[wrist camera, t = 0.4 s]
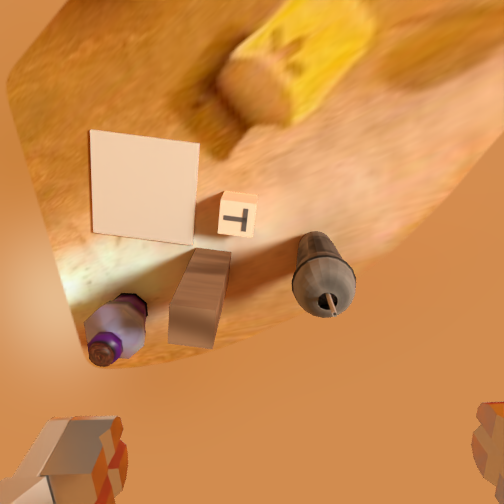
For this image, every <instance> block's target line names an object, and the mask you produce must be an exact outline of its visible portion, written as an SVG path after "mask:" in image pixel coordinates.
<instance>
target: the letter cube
mask: <svg viewBox="0 0 504 504" xmlns="http://www.w3.org/2000/svg"><path fill="white" fill-rule="evenodd" d="M257 200H258V195H255V194H247V193H239V192H231V191H224V193H223V196H222V198H221V202H220V213H219V224H218V234H226V235H234V236H241V237H249V238H253V231H254V224H255V216H256V208H257Z"/></svg>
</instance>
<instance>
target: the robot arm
mask: <svg viewBox="0 0 504 504" xmlns="http://www.w3.org/2000/svg"><path fill="white" fill-rule="evenodd" d="M476 417H477V419H478V420H479V422H480V423H481V425H480V426H479V427H478V428H477V429H476V430H475V431H474V432H473V437H472V444H471V445H472V451H473V457H474V460H475V462H476V465H477V467H478V469H479V471H480V473H481V474H482V476H483V478H485V479H486V480H488V481H489V482H490V483H492V484H493V485H495V486H496V492H495V497H496V499H497V500H498V502H499V504H504V402H485V403H481V404H480V406H479V407H478V410H477V415H476ZM122 432H123V425H122V422H121V418H120V417H118V416H75V417H52V418H51V419H50V420H48V421H47V422H46V424H45V425H44V427H43V428H42V430H41V432H40V433H39V435H38V436H37V438H36V440H35V441H34V443H33V445H32V446H31V448H30V449H29V451H28V453H27V454H26V456H25V457H24V459H23V461H22V462H21V464H20V465H19V467H18V469H17V470H16V472H15V473H14V475H13V477H12V478H4V479H3V480H1V481H0V504H115V499H114V498H115V497H116V496H117V495H118V494H119V493H120V492H121V491H122V490H123V487H124V484H125V480H126V476H127V468H128V453H127V446H126V444H125V443H124V442H122V441H121V440H120V438H121V435H122Z"/></svg>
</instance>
